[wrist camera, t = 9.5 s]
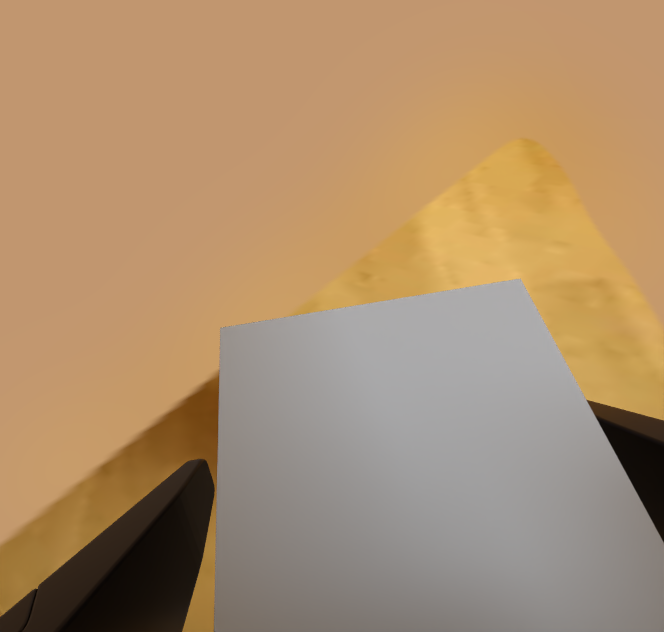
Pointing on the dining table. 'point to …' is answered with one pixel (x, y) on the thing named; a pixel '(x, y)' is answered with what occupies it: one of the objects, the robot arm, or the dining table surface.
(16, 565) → the dining table surface
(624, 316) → the dining table surface
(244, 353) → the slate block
